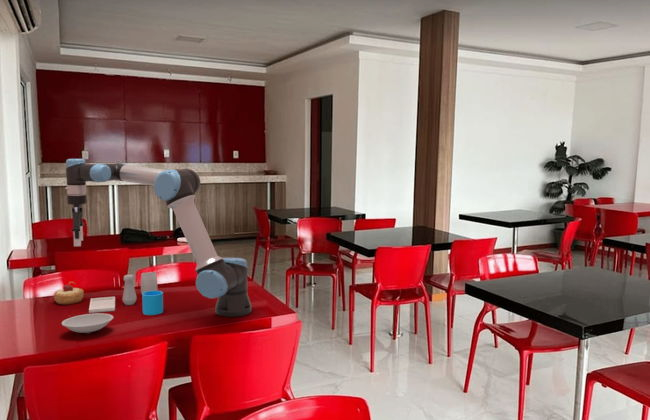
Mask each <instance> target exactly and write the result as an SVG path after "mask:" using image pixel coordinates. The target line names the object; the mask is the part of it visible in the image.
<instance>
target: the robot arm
mask: <svg viewBox="0 0 650 420" xmlns="http://www.w3.org/2000/svg"><path fill="white" fill-rule="evenodd" d="M65 173H66V174H65V175H66V187H65V188H64V189H65V190H66V194H67V196H66V200H67V202H66V203H67V204H68V205H73V207H72V208H71V213H72V214H71V215H72V228H71V232H72V234H73V247H82V241H84V232H83V231H84V229H83V227H84V226H85V223H84V222H83V207H82V205H85V204H87V195H86V194H87V182H89V183H90V182H93V183H105V182H110V181H119V182H126V183H131V184H132V183H134V184H140V185H146V186H152V187H153V190H154V193H155V195H156V196H157V198H159V199H161V200H162V201H164V202H165V205H166V206H167V208H168V209H171V210H173V212H174V215H175V217H176V219H177V221H178V223H179V227H180V228H181V230H182V232H183V235H184V237H185V240H186V242H187V244H188V246H189V249H190V251H191V254H192V256H193V258H194V260H195V262H196V267H195V272H196V274H197V276H196V278H195V279H196V280H195V286H196V289H197V291H198V292H199V293H200V294H201V295H202V296H203V297H204V298H207V299H217V301H216V304H215V306H214V307H215V308H214V309H215V310H214V311H215V314H216V315H217V316H221V317H228V318H229V317H230V318H233V317H234V318H235V317H236V318H237V317H242V316H246V315H248V314H250V313H251V312H252V302H251V300H250V297H249V295H248V268H249V267H248V261H247V260H246V259H244V258H243V257H242V258H241V257H222V256H219V255H218V253H217V251H216V249H215V247H214V245H213V242H212V240H211V238H210V236H209V233H208V231H207V229H206V227H205V224H204V221H203V220H202V217H201V215H200V213H199V211H198V209H197V206H196V204H195V198H196V195H195V194H197V193H198V191H199V190H200V187H201V184H202V183H201V178H200V176H199V174H198V173H197V172H196V171H194V170H192V169H190V168H175V169H173V168H172V169H171V168H170V169H162V168H155V167H154V168H153V167H149V166H148V167H147V166H140V165H131V164H125V163H122V162H114V163H86V161H85V159H84V158H68V159H66V161H65Z"/></svg>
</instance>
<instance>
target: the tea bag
mask: <svg viewBox="0 0 650 420" xmlns="http://www.w3.org/2000/svg"><path fill="white" fill-rule="evenodd" d="M157 278H158V276H157V271H149V272H142V273H141V274H140V293H141V295H142V294H143V293H144V292H147V291H158V279H157Z"/></svg>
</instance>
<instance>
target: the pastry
mask: <svg viewBox="0 0 650 420" xmlns="http://www.w3.org/2000/svg"><path fill="white" fill-rule="evenodd" d="M70 283H72V284H74V285H76V283H75V282H74V281H69V283H68V284H65V285H64V286H63V287H62V288H61V289H58V290H56V291H54V293H53V298H54V301H55V302H56V304H58V305H63V306H64V305H73V304H78V303H80V302H82V300H83V298H84V295H85V294H84V293H85V292H84V290H83V288H82V287H81V288H79V287H73V286H72V285H71V284H70Z"/></svg>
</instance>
